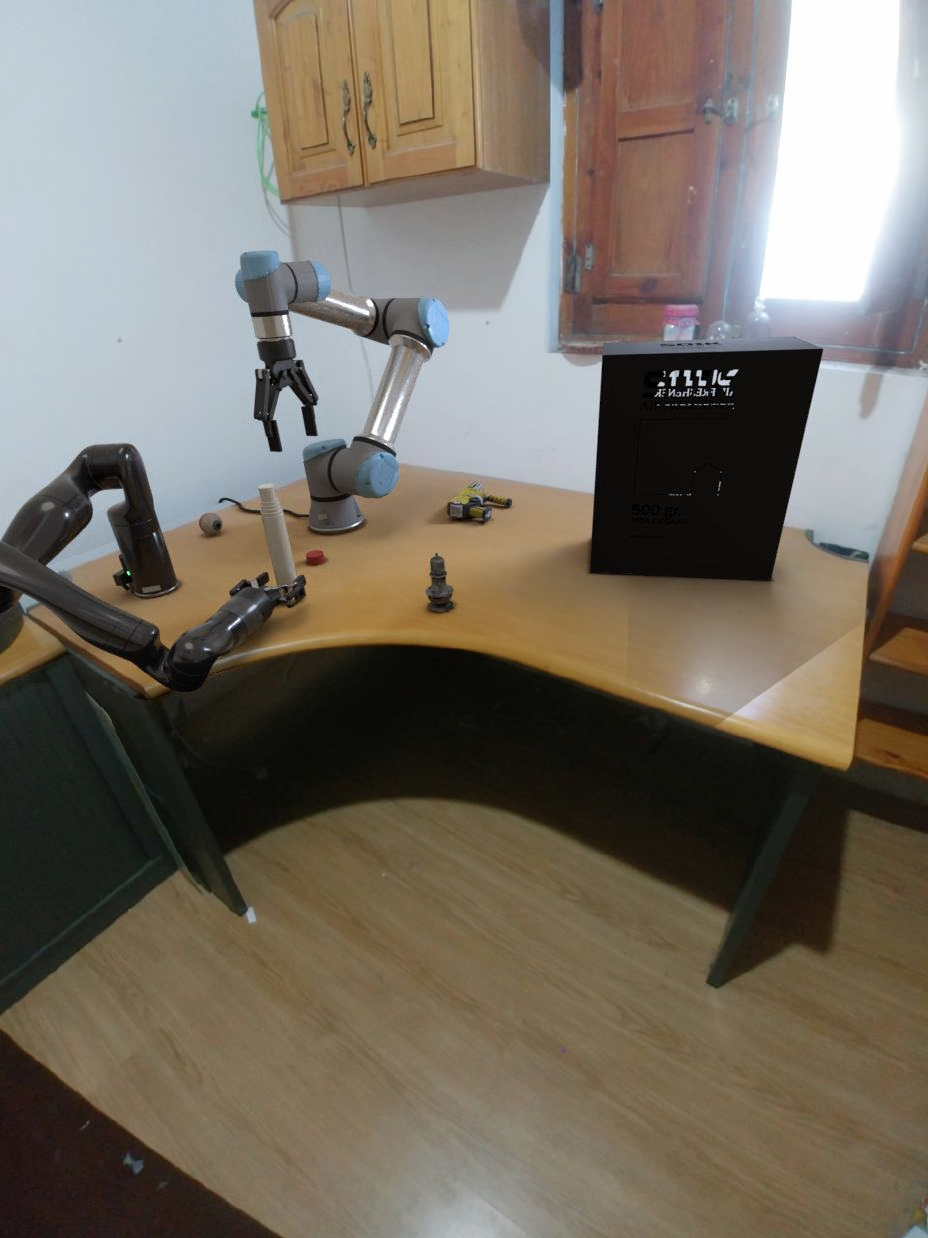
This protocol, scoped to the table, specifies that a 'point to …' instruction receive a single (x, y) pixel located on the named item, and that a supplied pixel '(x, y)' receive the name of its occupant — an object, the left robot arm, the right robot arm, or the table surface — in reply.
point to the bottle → (277, 536)
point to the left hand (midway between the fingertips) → (285, 577)
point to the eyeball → (210, 523)
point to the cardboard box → (698, 455)
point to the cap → (315, 557)
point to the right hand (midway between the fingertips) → (295, 443)
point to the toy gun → (474, 503)
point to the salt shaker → (439, 586)
